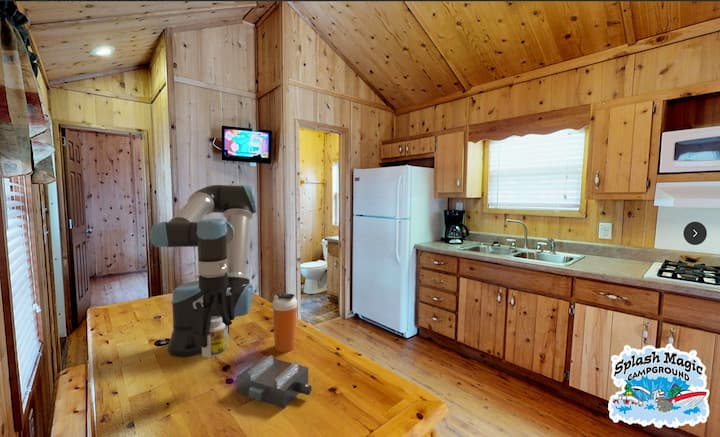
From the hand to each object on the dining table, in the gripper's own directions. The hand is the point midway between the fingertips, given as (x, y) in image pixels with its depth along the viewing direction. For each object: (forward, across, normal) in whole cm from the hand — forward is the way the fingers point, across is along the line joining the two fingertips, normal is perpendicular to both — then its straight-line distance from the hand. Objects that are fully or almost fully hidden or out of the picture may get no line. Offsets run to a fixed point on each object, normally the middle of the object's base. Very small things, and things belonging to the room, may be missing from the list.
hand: (215, 350), depth 92 cm
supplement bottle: (+1, 0, 0) cm, 1 cm away
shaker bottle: (+11, +26, -6) cm, 29 cm away
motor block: (+10, +4, -19) cm, 22 cm away
